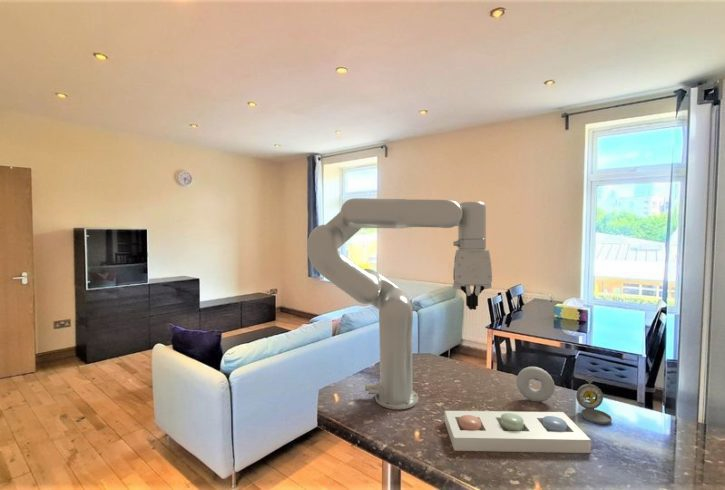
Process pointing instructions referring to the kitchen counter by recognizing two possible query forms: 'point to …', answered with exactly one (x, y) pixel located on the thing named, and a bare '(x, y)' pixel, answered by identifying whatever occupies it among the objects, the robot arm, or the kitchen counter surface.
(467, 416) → the terracotta button
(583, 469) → the kitchen counter surface
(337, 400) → the kitchen counter surface
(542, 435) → the console
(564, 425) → the slate button
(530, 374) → the donut
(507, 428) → the sage button
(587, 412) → the pocket watch
